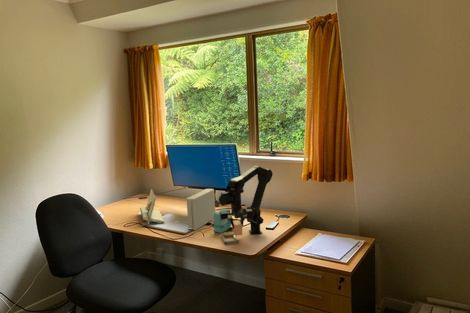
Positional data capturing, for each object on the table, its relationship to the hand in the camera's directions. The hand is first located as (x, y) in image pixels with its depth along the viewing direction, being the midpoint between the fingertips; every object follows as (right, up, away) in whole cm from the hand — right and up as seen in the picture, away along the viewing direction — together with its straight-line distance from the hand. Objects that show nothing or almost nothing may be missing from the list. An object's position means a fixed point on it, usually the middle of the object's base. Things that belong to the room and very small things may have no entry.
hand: (237, 228), depth 208 cm
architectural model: (-58, -3, +46) cm, 74 cm away
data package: (-9, -5, +17) cm, 20 cm away
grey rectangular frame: (-4, -7, 0) cm, 8 cm away
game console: (-23, -3, +32) cm, 39 cm away
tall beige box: (0, -3, 0) cm, 3 cm away
